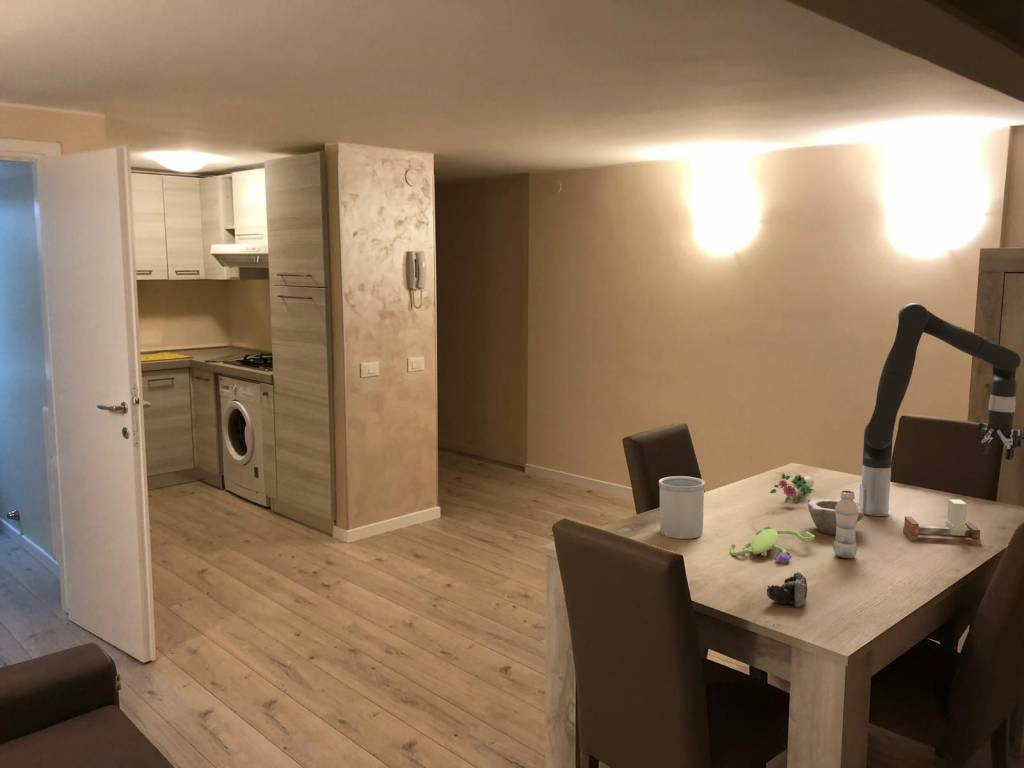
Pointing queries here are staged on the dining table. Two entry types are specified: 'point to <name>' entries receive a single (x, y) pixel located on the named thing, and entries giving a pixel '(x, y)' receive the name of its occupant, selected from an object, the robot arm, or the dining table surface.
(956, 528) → the slider
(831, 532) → the mortar
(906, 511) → the dining table surface
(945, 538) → the track
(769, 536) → the figurine
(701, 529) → the utensil holder
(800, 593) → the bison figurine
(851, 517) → the plastic bottle
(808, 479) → the flower vase
